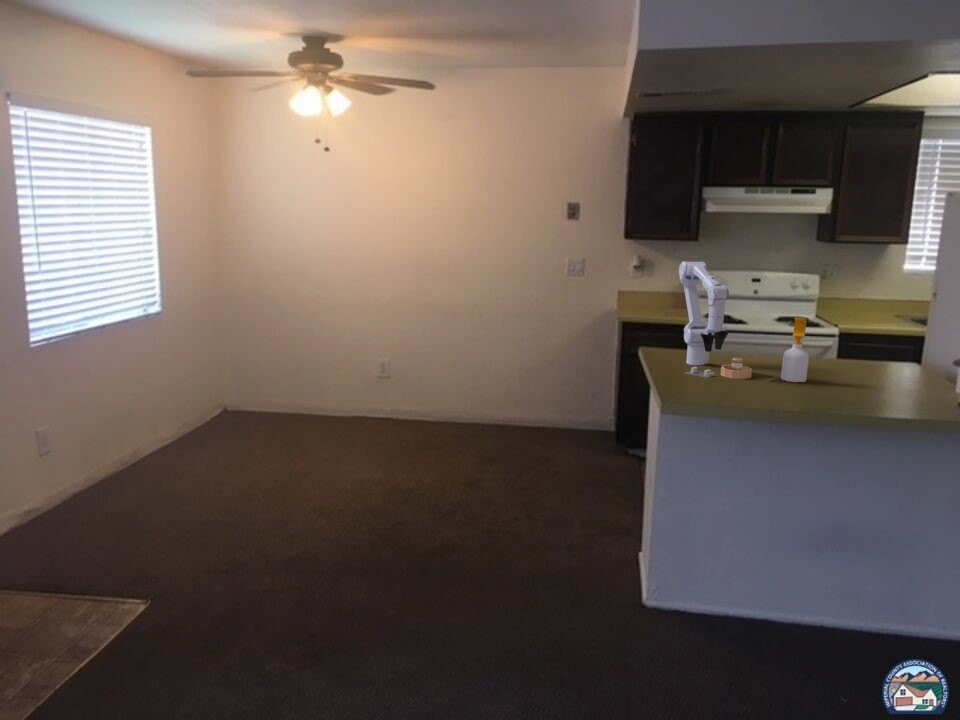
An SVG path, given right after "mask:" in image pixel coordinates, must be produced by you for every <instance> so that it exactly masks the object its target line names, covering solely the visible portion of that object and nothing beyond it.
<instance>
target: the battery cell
mask: <svg viewBox="0 0 960 720" xmlns="http://www.w3.org/2000/svg"><path fill="white" fill-rule="evenodd" d="M730 365H731V370H735V371H742V366H743V358H740V357H732V358H731V362H730Z"/></svg>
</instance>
